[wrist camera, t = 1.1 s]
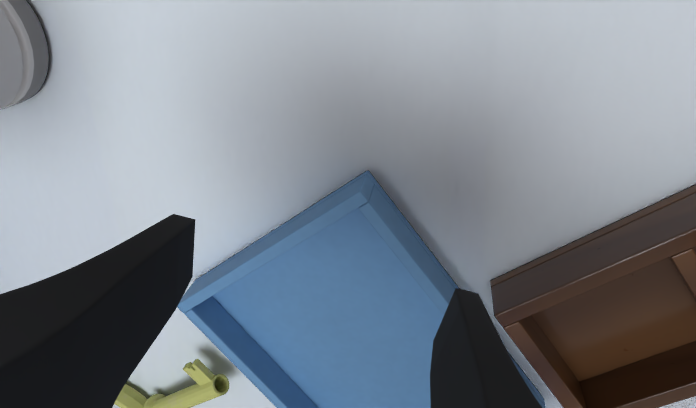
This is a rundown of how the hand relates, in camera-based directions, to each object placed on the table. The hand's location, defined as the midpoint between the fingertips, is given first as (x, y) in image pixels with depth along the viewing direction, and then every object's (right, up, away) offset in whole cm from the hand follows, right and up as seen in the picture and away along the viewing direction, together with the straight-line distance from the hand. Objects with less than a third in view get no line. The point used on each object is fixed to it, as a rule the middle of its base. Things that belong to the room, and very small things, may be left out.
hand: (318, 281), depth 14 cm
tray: (+2, -5, +14) cm, 15 cm away
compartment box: (+16, -1, +9) cm, 19 cm away
